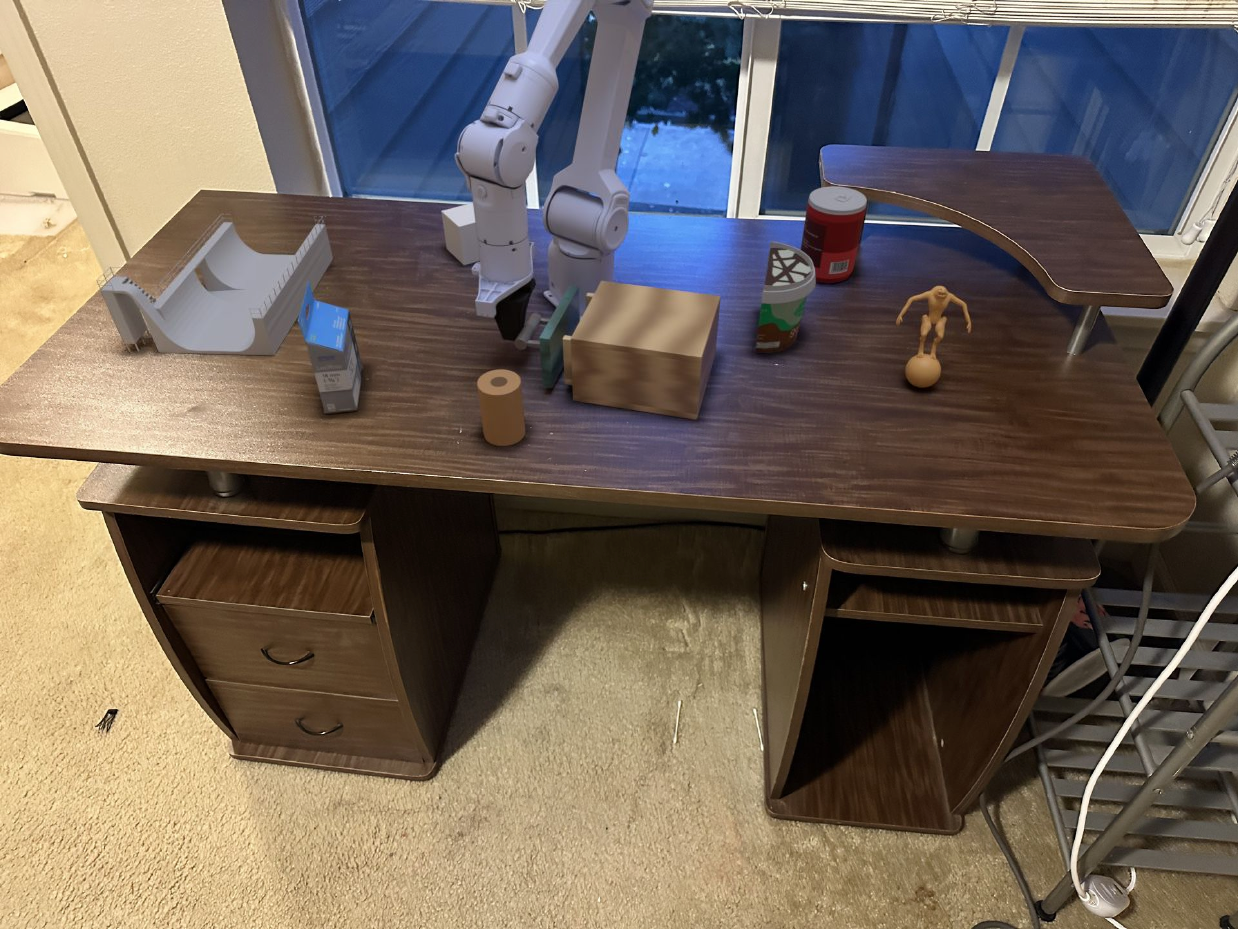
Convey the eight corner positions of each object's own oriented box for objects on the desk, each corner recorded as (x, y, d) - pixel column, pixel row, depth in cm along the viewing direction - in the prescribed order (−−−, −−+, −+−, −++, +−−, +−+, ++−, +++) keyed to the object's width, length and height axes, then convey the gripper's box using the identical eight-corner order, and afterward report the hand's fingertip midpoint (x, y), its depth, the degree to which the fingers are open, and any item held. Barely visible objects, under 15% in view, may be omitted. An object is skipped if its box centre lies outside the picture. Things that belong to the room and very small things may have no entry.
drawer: (508, 381, 101) (503, 332, 96) (539, 328, 109) (536, 281, 105) (655, 404, 97) (657, 354, 93) (675, 347, 106) (678, 299, 102)
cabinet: (572, 400, 99) (570, 338, 94) (601, 340, 109) (601, 280, 103) (696, 420, 97) (701, 357, 91) (715, 356, 106) (720, 295, 100)
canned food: (860, 266, 123) (875, 193, 116) (839, 290, 118) (854, 215, 111) (810, 252, 126) (822, 181, 119) (788, 275, 121) (799, 201, 114)
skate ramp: (274, 355, 106) (251, 284, 99) (127, 351, 107) (95, 280, 100) (333, 258, 125) (317, 193, 118) (208, 255, 125) (185, 190, 119)
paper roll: (477, 428, 95) (470, 377, 91) (514, 415, 97) (509, 364, 93) (494, 451, 93) (488, 399, 88) (532, 437, 94) (528, 386, 90)
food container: (804, 365, 105) (816, 293, 98) (753, 359, 106) (763, 287, 99) (807, 313, 114) (819, 244, 107) (761, 308, 115) (770, 239, 108)
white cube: (501, 254, 126) (497, 216, 122) (464, 265, 123) (459, 226, 119) (482, 238, 130) (478, 201, 126) (446, 248, 127) (441, 210, 123)
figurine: (883, 389, 101) (906, 301, 93) (882, 361, 106) (904, 274, 98) (956, 398, 100) (986, 309, 92) (952, 369, 104) (979, 281, 96)
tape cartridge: (359, 412, 98) (335, 319, 89) (323, 415, 97) (296, 322, 89) (364, 367, 104) (342, 277, 96) (331, 370, 104) (306, 280, 96)
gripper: (491, 202, 101) (502, 303, 110) (443, 260, 90) (459, 366, 99) (548, 209, 99) (554, 310, 108) (506, 268, 89) (516, 375, 98)
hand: (512, 337), depth 104 cm, fingers closed, pressing on drawer
